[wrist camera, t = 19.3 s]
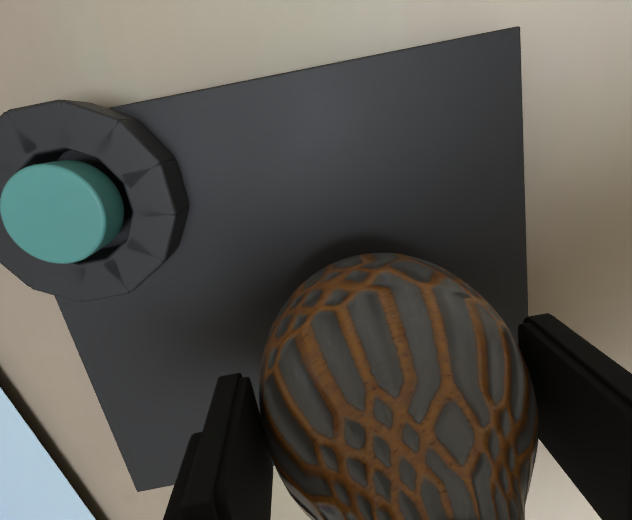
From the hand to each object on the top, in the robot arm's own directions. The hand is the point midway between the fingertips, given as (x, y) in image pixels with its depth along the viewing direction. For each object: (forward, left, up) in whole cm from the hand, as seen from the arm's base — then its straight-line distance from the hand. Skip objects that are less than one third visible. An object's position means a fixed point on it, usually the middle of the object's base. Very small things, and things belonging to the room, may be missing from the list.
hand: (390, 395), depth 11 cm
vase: (0, 0, -4) cm, 4 cm away
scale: (+2, -2, -6) cm, 6 cm away
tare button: (+8, -6, -3) cm, 10 cm away
